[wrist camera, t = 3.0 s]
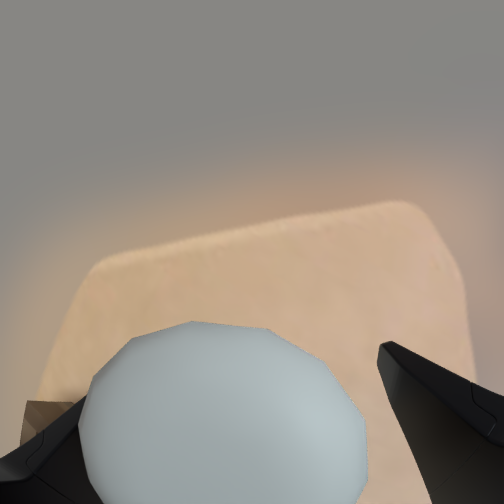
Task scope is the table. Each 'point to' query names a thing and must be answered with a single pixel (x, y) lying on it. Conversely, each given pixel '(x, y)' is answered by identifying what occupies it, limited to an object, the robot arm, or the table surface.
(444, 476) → the robot arm
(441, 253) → the table surface
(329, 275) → the table surface
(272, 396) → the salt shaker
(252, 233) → the table surface
